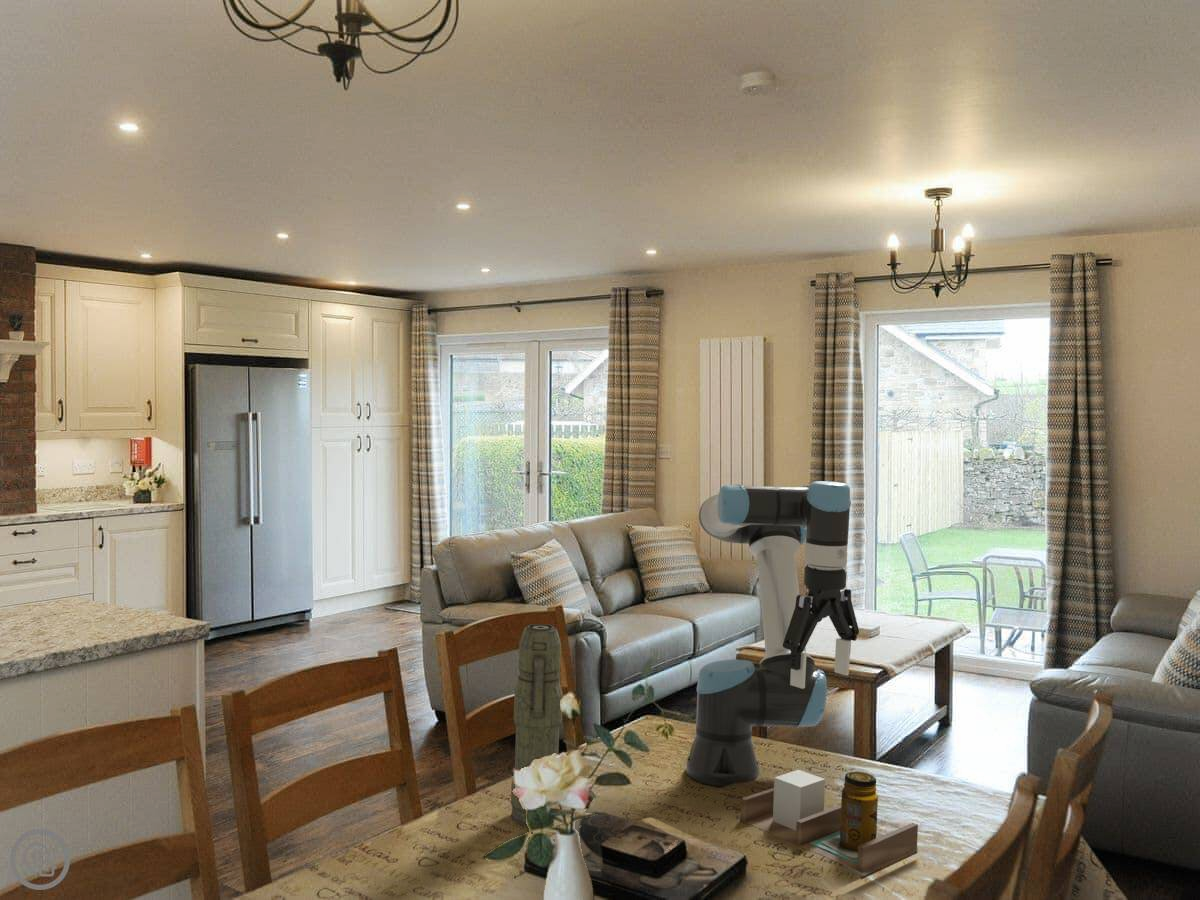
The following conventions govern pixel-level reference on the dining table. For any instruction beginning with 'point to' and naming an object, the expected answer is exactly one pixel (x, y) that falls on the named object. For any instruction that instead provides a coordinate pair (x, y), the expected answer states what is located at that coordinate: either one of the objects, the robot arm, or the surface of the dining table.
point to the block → (797, 797)
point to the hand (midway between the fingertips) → (820, 680)
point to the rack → (829, 834)
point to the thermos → (536, 701)
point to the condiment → (856, 814)
